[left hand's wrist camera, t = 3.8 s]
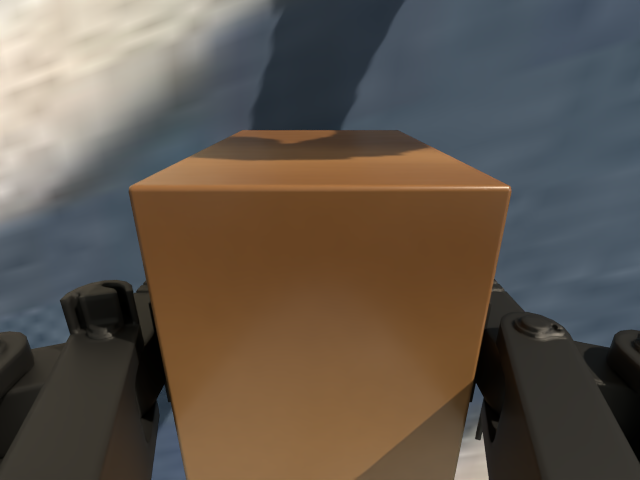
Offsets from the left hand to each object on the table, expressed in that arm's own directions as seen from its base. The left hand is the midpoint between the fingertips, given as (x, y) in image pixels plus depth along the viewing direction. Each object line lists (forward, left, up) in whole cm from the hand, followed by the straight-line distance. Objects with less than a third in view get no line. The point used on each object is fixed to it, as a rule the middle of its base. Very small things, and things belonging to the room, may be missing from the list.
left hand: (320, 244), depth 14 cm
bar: (+2, +7, -1) cm, 7 cm away
